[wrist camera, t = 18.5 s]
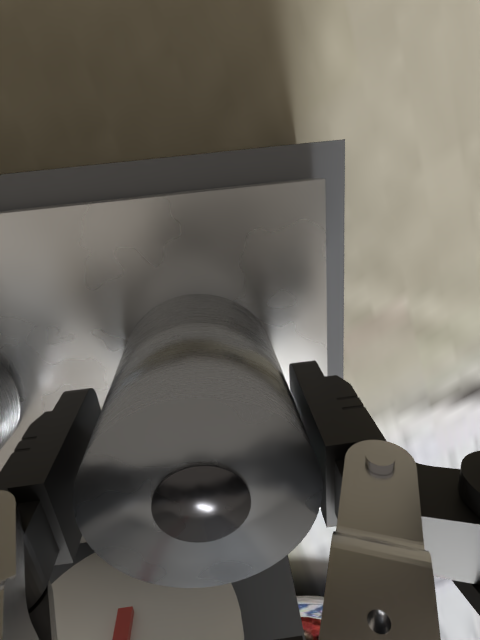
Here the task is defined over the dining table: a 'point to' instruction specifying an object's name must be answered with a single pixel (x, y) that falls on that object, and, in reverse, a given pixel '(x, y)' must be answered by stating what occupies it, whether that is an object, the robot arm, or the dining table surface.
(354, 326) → the dining table surface
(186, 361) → the cylinder
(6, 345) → the scale pan
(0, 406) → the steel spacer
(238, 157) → the scale
